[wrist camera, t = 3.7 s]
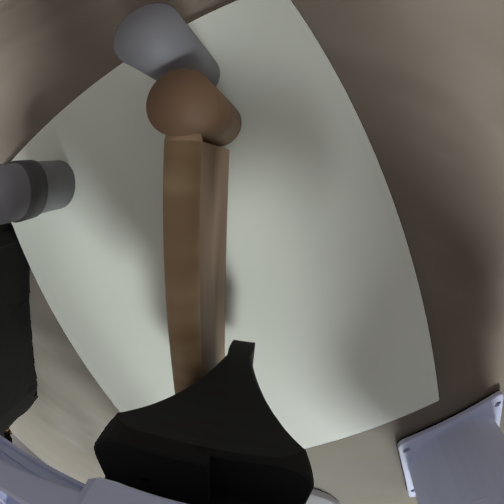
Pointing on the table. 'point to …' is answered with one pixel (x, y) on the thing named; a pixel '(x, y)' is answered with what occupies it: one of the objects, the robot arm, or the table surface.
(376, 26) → the table surface
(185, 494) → the robot arm
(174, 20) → the flat white tray
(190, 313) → the brown wooden bar
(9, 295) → the film camera
